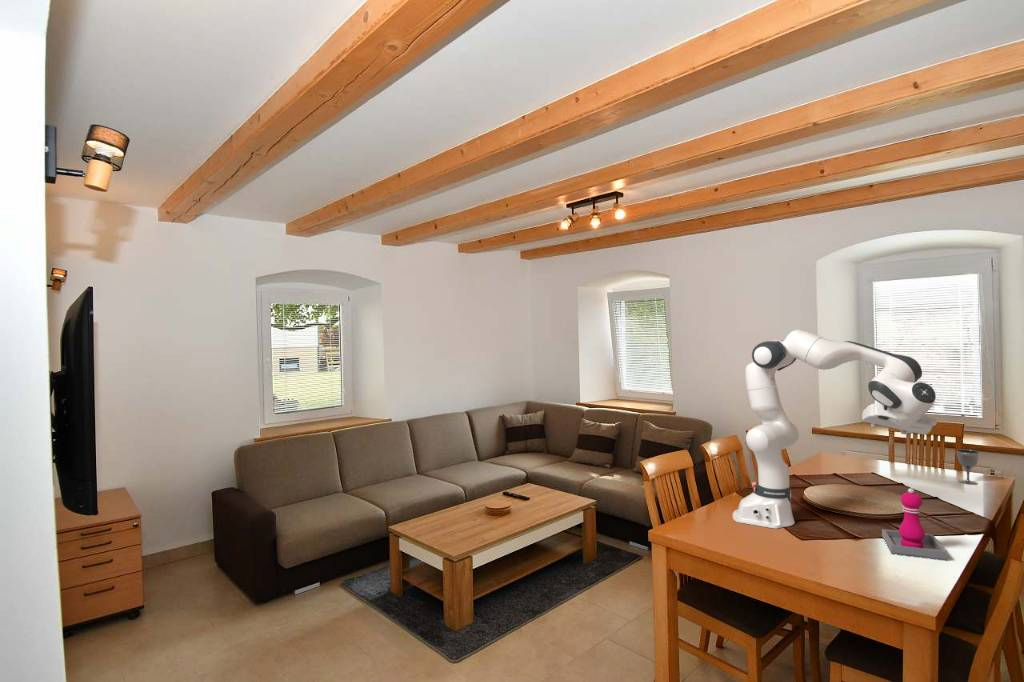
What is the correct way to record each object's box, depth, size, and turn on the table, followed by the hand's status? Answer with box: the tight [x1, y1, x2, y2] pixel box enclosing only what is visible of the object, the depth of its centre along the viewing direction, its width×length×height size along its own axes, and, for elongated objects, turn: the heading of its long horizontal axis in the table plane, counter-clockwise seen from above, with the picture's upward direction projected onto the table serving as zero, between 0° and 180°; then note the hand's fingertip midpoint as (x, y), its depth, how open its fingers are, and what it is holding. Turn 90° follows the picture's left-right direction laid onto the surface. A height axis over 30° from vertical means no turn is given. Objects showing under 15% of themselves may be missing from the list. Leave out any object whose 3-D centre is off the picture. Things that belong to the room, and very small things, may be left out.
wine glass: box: [956, 448, 980, 486], centre depth 256 cm, size 8×8×15 cm
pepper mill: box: [898, 487, 926, 548], centre depth 187 cm, size 7×7×20 cm
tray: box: [881, 528, 948, 562], centre depth 187 cm, size 15×16×3 cm
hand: (888, 429), depth 198 cm, fingers open, 8 cm apart
